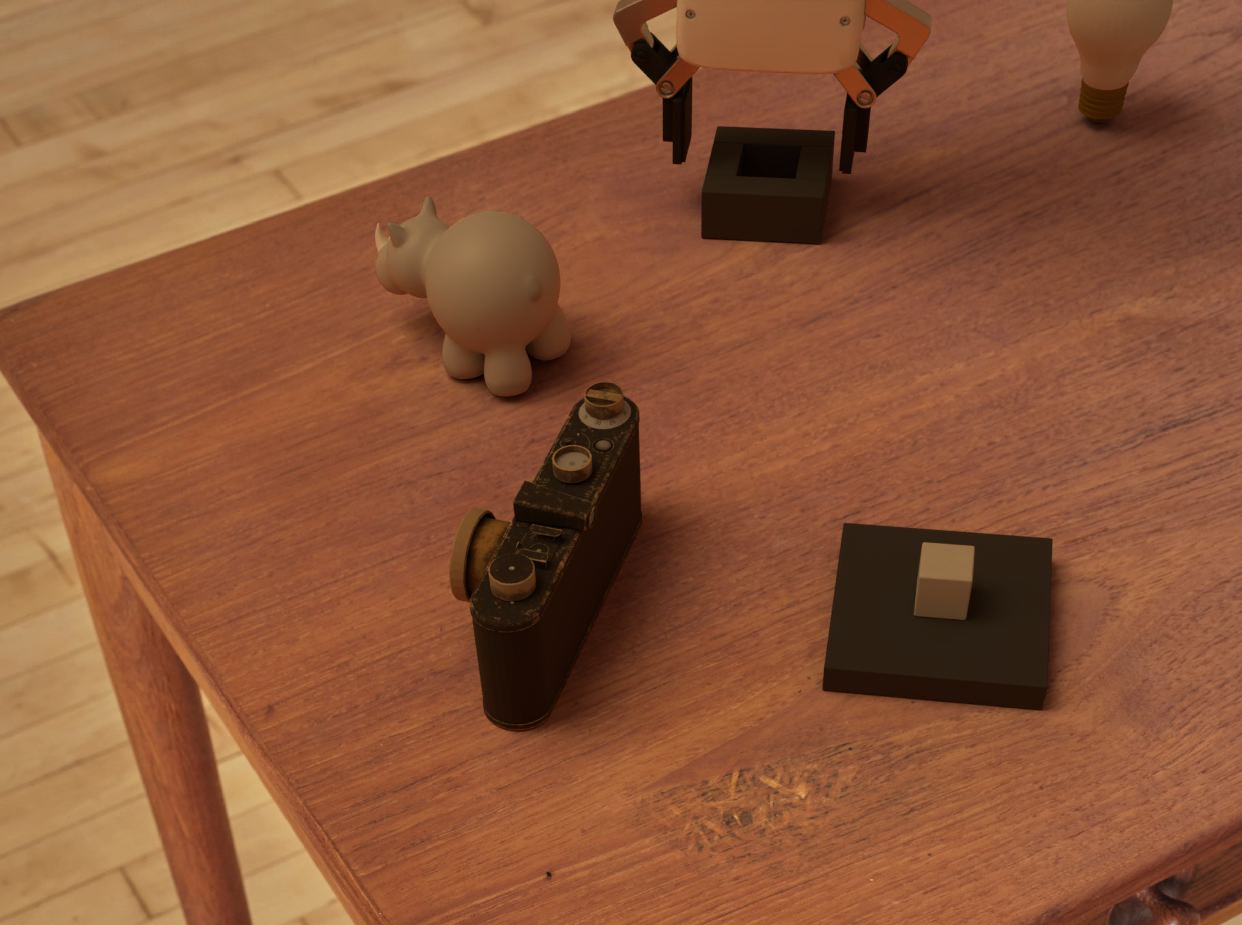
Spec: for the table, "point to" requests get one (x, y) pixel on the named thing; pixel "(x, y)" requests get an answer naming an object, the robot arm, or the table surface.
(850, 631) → the base pad
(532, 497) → the camera
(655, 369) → the table surface
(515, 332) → the chubby cartoon animal
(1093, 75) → the light bulb
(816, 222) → the black square ring block
